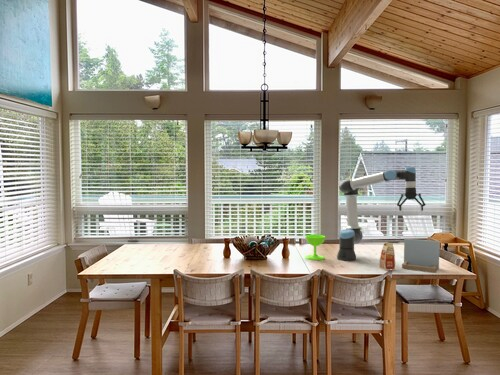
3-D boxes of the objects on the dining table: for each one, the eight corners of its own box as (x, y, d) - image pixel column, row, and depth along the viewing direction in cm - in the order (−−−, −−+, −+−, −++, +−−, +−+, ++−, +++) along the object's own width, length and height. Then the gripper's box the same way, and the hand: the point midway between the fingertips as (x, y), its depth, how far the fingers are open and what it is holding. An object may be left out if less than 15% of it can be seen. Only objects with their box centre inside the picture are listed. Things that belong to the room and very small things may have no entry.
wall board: (400, 268, 285) (401, 241, 284) (404, 264, 297) (404, 238, 297) (436, 272, 272) (437, 244, 271) (438, 268, 285) (439, 241, 284)
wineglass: (311, 260, 306) (311, 238, 306) (301, 256, 321) (301, 235, 321) (328, 259, 312) (329, 237, 312) (318, 255, 327) (318, 234, 327)
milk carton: (385, 270, 278) (385, 242, 277) (378, 267, 287) (379, 240, 286) (396, 270, 279) (397, 242, 279) (389, 267, 288) (390, 240, 288)
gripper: (393, 187, 297) (393, 215, 297) (429, 187, 289) (429, 215, 289) (393, 187, 304) (393, 214, 304) (427, 186, 296) (428, 214, 296)
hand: (411, 215), depth 296 cm, fingers open, 13 cm apart
